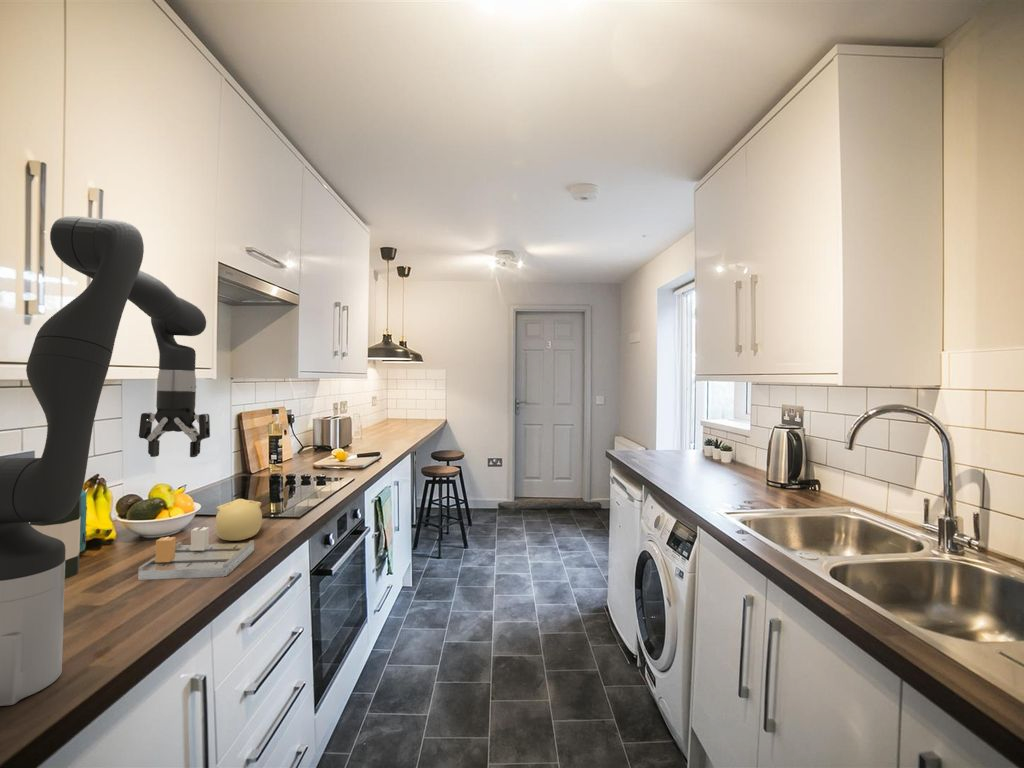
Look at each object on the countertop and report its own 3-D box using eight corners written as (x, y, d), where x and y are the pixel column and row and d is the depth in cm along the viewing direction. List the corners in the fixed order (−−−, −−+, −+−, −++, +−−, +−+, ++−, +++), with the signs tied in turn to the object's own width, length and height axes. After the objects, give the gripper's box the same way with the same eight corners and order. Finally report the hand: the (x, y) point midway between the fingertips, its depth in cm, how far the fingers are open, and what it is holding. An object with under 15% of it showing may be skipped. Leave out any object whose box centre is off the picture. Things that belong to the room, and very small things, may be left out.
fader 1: (169, 561, 105) (170, 539, 105) (155, 562, 104) (156, 539, 104) (175, 558, 107) (175, 536, 107) (161, 558, 106) (161, 536, 106)
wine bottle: (16, 585, 96) (20, 445, 96) (44, 569, 104) (48, 439, 104) (64, 582, 98) (69, 444, 98) (88, 566, 106) (92, 439, 106)
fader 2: (203, 550, 112) (204, 529, 112) (190, 550, 112) (191, 529, 112) (208, 546, 114) (208, 526, 114) (195, 547, 114) (195, 526, 114)
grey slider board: (226, 576, 104) (226, 564, 104) (138, 579, 101) (138, 567, 101) (253, 550, 119) (254, 540, 119) (178, 552, 116) (178, 542, 116)
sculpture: (260, 528, 137) (261, 493, 137) (263, 540, 127) (264, 502, 127) (215, 534, 131) (216, 497, 131) (214, 547, 121) (215, 507, 121)
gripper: (133, 388, 104) (130, 459, 104) (200, 390, 106) (198, 459, 106) (153, 388, 111) (151, 454, 111) (216, 389, 113) (214, 454, 113)
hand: (174, 456), depth 108 cm, fingers open, 8 cm apart
